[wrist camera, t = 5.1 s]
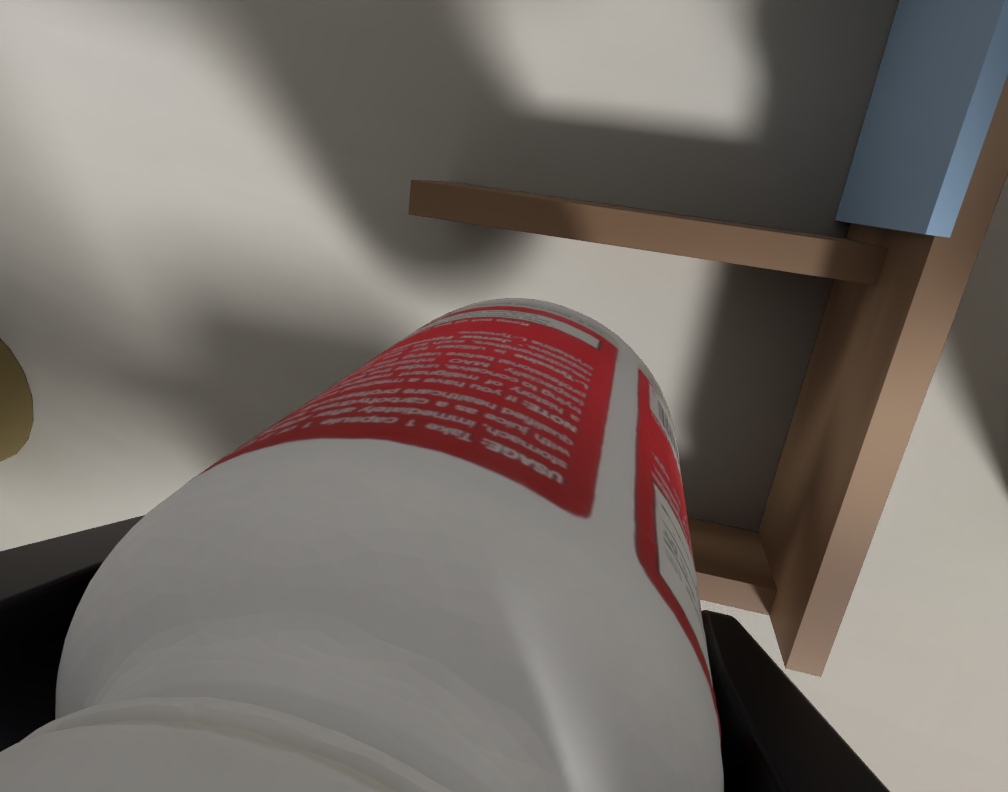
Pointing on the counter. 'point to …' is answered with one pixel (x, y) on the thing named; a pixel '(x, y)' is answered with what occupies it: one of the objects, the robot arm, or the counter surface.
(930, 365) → the divider rack
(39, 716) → the robot arm
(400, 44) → the counter surface
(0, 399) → the olive green peg figure
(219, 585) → the pill bottle
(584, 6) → the counter surface
